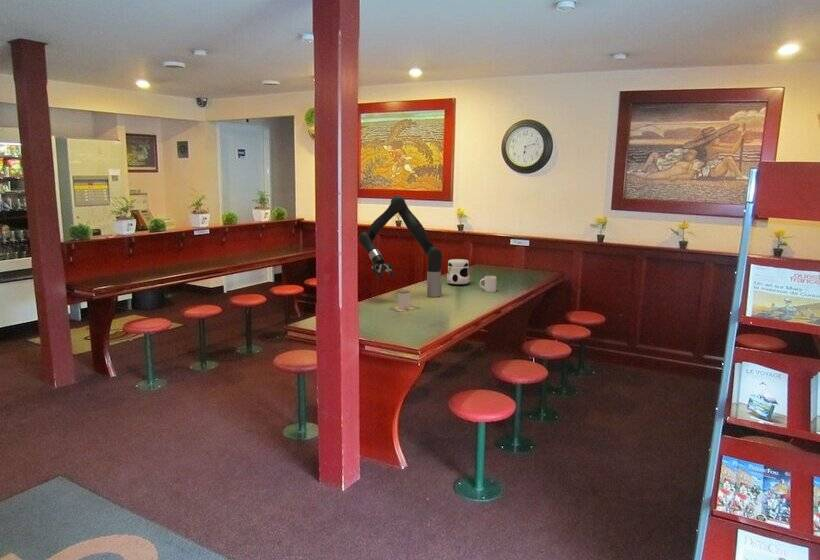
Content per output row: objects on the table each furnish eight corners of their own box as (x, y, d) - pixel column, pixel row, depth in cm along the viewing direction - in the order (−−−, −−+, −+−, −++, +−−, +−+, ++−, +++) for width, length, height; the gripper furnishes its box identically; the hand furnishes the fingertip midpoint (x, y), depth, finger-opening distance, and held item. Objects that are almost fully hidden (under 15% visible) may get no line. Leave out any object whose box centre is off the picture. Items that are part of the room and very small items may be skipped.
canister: (404, 306, 361) (404, 289, 359) (409, 308, 357) (409, 291, 355) (397, 307, 358) (397, 290, 356) (403, 309, 354) (402, 292, 351)
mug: (477, 291, 406) (478, 277, 404) (480, 289, 414) (480, 275, 412) (494, 292, 402) (495, 278, 400) (497, 290, 410) (497, 276, 408)
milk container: (442, 283, 436) (442, 259, 433) (462, 281, 443) (462, 258, 440) (453, 287, 421) (453, 263, 417) (474, 285, 428) (474, 261, 425)
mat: (407, 304, 367) (407, 304, 367) (419, 308, 358) (419, 307, 358) (387, 308, 357) (387, 308, 357) (399, 312, 348) (399, 311, 348)
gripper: (369, 255, 366) (380, 275, 360) (387, 253, 375) (398, 272, 369) (365, 262, 371) (376, 282, 365) (382, 260, 380) (393, 279, 374)
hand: (387, 277), depth 367 cm, fingers open, 8 cm apart
